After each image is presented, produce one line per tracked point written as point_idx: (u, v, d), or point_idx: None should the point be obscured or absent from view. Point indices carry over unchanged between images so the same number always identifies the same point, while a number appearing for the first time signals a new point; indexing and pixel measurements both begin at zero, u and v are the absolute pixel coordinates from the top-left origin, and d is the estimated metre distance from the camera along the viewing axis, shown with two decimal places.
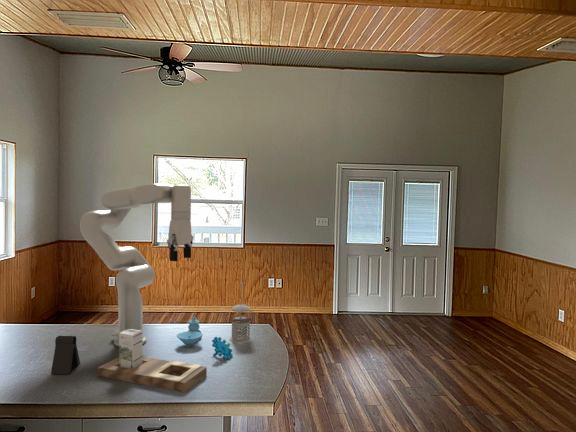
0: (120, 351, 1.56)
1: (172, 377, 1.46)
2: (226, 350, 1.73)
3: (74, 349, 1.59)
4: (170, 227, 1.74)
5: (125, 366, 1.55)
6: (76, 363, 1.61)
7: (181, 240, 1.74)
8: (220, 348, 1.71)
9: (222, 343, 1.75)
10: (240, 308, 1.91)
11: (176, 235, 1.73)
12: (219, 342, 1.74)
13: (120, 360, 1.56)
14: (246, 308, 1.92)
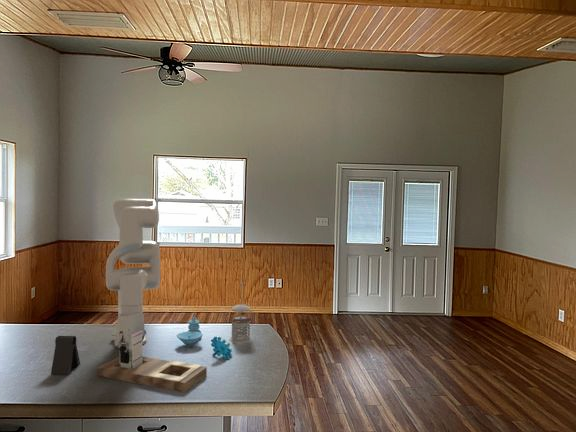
0: None
1: (172, 377, 1.46)
2: (225, 350, 1.74)
3: (74, 349, 1.59)
4: (118, 323, 1.53)
5: (125, 366, 1.55)
6: (76, 363, 1.61)
7: (130, 338, 1.54)
8: (219, 348, 1.72)
9: (221, 343, 1.75)
10: (240, 308, 1.91)
11: (124, 333, 1.52)
12: (218, 342, 1.74)
13: None
14: (246, 308, 1.92)
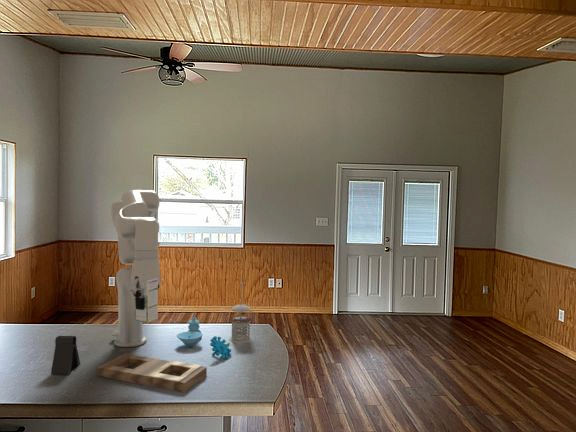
0: None
1: (172, 377, 1.46)
2: (224, 350, 1.74)
3: (74, 349, 1.59)
4: (133, 268, 1.50)
5: (141, 313, 1.52)
6: (76, 363, 1.61)
7: None
8: (218, 348, 1.72)
9: (221, 343, 1.75)
10: (240, 308, 1.91)
11: (139, 278, 1.49)
12: (218, 341, 1.74)
13: None
14: (246, 308, 1.92)
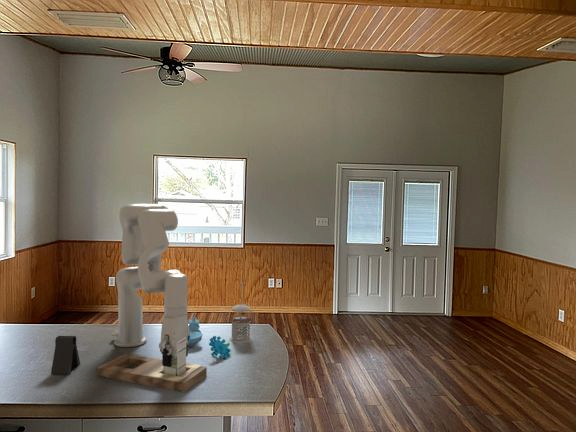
0: None
1: (172, 377, 1.46)
2: (224, 350, 1.74)
3: (74, 349, 1.59)
4: (163, 326, 1.47)
5: (170, 374, 1.49)
6: (76, 363, 1.61)
7: (176, 341, 1.48)
8: (217, 347, 1.72)
9: (220, 342, 1.76)
10: (240, 308, 1.91)
11: (170, 336, 1.46)
12: (217, 341, 1.75)
13: (164, 368, 1.50)
14: (246, 308, 1.92)
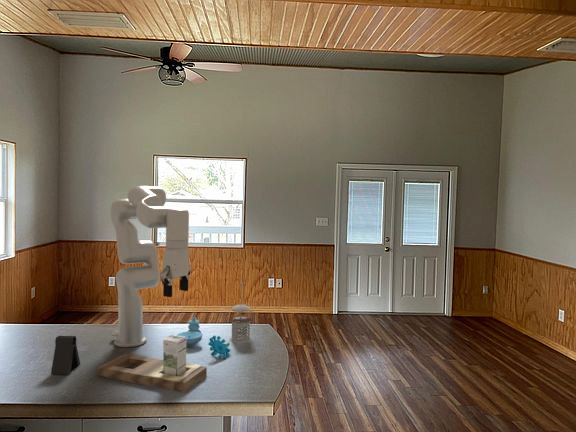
0: (164, 359, 1.50)
1: (172, 377, 1.46)
2: (223, 349, 1.74)
3: (74, 349, 1.59)
4: (164, 258, 1.51)
5: (170, 374, 1.49)
6: (76, 363, 1.61)
7: (176, 273, 1.52)
8: (216, 347, 1.72)
9: (220, 342, 1.76)
10: (240, 308, 1.91)
11: (171, 267, 1.50)
12: (217, 341, 1.75)
13: (164, 368, 1.50)
14: (246, 308, 1.92)
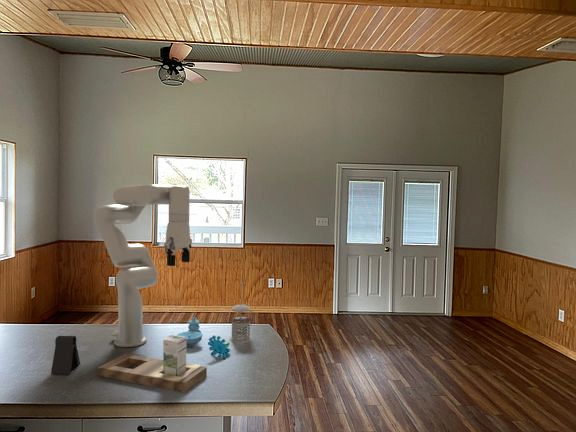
0: (165, 359, 1.50)
1: (172, 377, 1.46)
2: (223, 349, 1.74)
3: (74, 349, 1.59)
4: (167, 230, 1.65)
5: (170, 374, 1.49)
6: (76, 363, 1.61)
7: (179, 244, 1.66)
8: (216, 347, 1.72)
9: (220, 342, 1.76)
10: (240, 308, 1.91)
11: (174, 238, 1.64)
12: (216, 341, 1.75)
13: (164, 368, 1.50)
14: (246, 308, 1.92)
